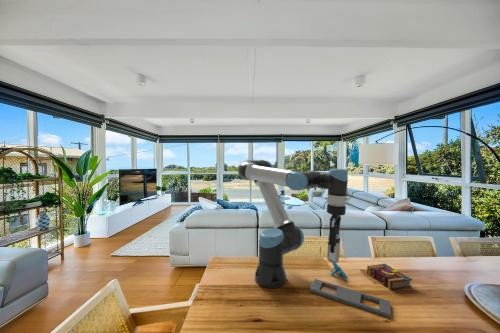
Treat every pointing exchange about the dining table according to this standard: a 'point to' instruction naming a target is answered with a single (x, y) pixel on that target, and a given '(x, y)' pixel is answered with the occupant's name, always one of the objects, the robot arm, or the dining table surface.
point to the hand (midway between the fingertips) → (333, 256)
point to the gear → (337, 270)
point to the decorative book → (389, 276)
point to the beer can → (336, 250)
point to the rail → (350, 297)
